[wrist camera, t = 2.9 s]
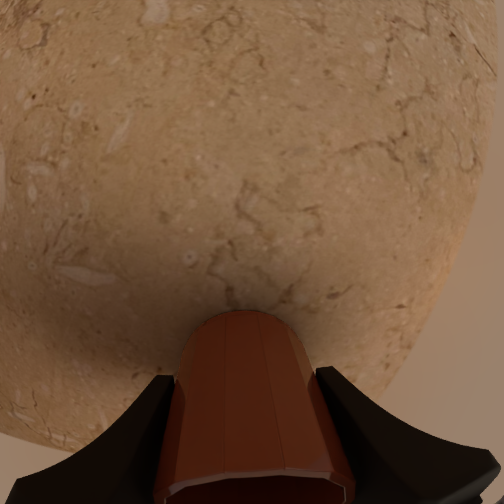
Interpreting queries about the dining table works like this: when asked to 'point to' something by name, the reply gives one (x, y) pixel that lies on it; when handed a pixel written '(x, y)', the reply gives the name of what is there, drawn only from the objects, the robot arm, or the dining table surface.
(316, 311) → the dining table surface
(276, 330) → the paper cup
